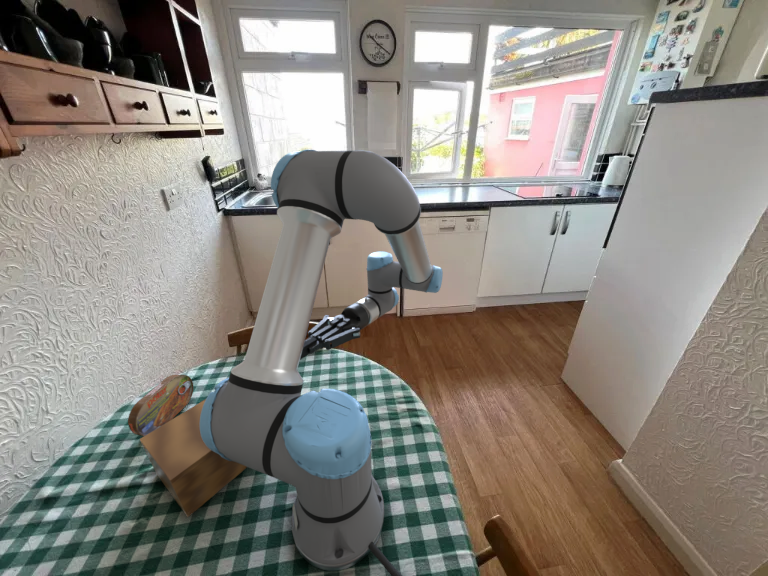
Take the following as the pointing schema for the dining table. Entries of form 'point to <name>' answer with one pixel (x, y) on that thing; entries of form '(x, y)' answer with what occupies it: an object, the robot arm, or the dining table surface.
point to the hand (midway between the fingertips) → (294, 355)
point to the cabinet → (188, 461)
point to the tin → (160, 404)
